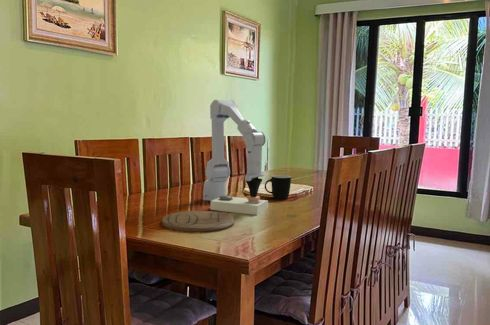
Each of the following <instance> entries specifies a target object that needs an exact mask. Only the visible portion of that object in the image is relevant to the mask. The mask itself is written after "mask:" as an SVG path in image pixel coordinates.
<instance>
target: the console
mask: <svg viewBox="0 0 490 325" xmlns="http://www.w3.org/2000/svg"><path fill="white" fill-rule="evenodd" d="M268 208H269V200H267V199H266V200H265V199H260V200H259V201H258V204H253V203H248V199H247V197H236V196H232V200H230V201H224V200H221V199H220V198H217V199H214V200H212V201H210V210H209V211H217V212H219V211H220V212H228V213H237V214H243V215H246V214H247V215H253V216H254V215H255V216H256V215H257V216H258V215H260V214H261V213H263V212H265V211H267V210H268Z"/></svg>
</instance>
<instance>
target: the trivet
mask: <svg viewBox="0 0 490 325" xmlns="http://www.w3.org/2000/svg"><path fill="white" fill-rule="evenodd" d="M161 221H162V222H161V223H162V226H163V227H164V226H165V228H166V229H168V228H169V230H171V229H172V231H175V230H177V231H176V232H181V231H183V233H194V232H200V233H201V232H203V233H213V232H214V231H215V232H220V231H224V230H229V229H230V228H232V227H233V226H235V217H233V215H230V214H227V213H224V212H221V211H220V212H219V211H214V210H188V211H187V210H186V211H178V212H172V213H169V214H166V215H164V216H163V218H162V220H161ZM215 232H214V233H215ZM200 233H199V234H200Z"/></svg>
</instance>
